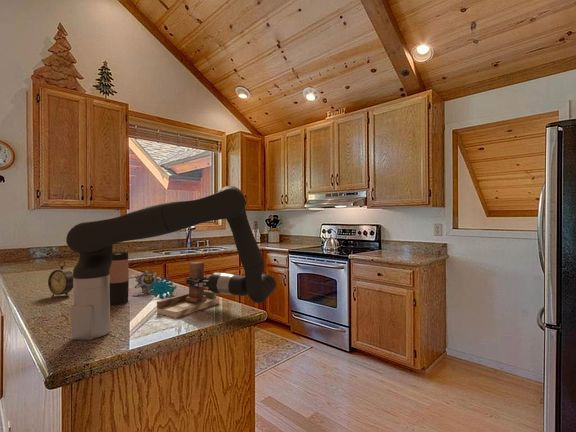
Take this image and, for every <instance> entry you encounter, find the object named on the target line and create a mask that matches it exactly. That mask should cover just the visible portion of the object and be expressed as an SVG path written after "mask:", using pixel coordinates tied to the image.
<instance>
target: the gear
mask: <svg viewBox="0 0 576 432" xmlns="http://www.w3.org/2000/svg"><path fill="white" fill-rule="evenodd" d="M160 280H161V281H160V282H158V281H159V279H156V280H155V281H156V282H157V284H154V283H155V282H154V281H153V282H152V283H151V285H154V286H155V287H153V286H150V288H149V289H151V292H150V294H151V295H152V294H154V295H153V297H155V298H158V296H159V298H160V299H163V298H164V297H165V298H169V296H170V295H172V294H173V293H174V292H175V290H177V287H178V286H177V285H174V282H173V281H171V282H170V279H168V278H166V280H165V278H164V277H160ZM164 294H165V296H164Z"/></svg>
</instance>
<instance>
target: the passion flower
mask: <svg viewBox="0 0 576 432" xmlns="http://www.w3.org/2000/svg"><path fill="white" fill-rule="evenodd" d="M134 278H135V282H136V283H137V284H136V285H135V286H134V289H139V288H141V292H142V293H145V292H146V293H147V294H148V295H149V294H151V290H152V289H149V288H150V286H153V287H155V286H154V285H151V283H152V282H153V281H154V282H155V283H154V284H157V282H156V281H155V280H156V279H159V281H158V282H160V281H161V276H157V272H156V271H155V272H153V273H151V272H150V271H149V270H148V269H146V270H145V271H144V272H143V273H141V274H137V276H134Z"/></svg>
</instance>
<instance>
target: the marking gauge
mask: <svg viewBox="0 0 576 432" xmlns="http://www.w3.org/2000/svg"><path fill="white" fill-rule="evenodd" d="M188 270H189V273H188V274H189V278H199V277H204V276H205V271H204V270H205V262H203V261H202V262H201V261H200V262H199V261H195V262H189V269H188ZM204 290H205V289H204V287H199V288H198V289H197V288H194V287H191V286H190V284H188V293H189V297H186V302H192V303H198V302H201V301H205V300H206V296H204Z"/></svg>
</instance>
